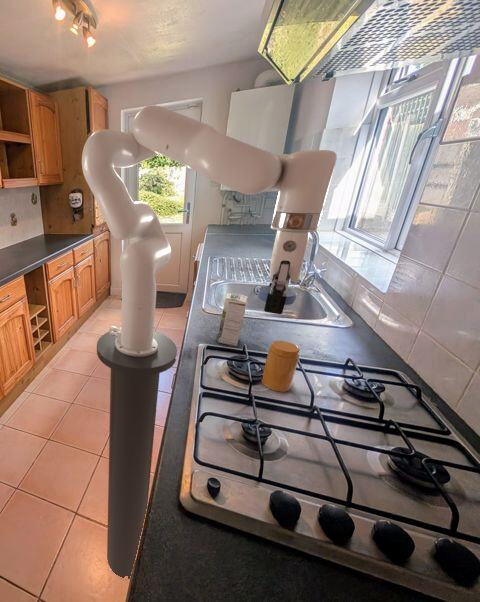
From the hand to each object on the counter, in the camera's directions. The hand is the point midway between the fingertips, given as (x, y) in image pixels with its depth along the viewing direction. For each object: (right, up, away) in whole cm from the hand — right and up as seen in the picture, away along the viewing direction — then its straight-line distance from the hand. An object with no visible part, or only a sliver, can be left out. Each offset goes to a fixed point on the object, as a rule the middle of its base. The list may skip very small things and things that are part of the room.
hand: (273, 305), depth 65 cm
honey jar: (+6, -19, +9) cm, 22 cm away
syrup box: (+4, -11, +28) cm, 31 cm away
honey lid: (0, +3, -1) cm, 3 cm away
